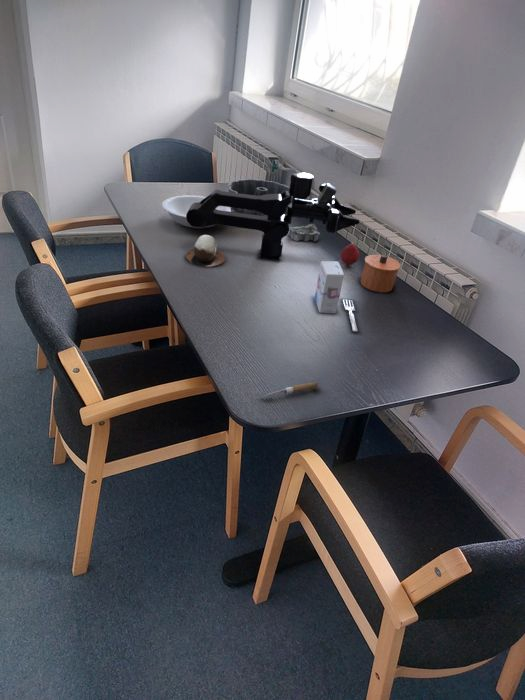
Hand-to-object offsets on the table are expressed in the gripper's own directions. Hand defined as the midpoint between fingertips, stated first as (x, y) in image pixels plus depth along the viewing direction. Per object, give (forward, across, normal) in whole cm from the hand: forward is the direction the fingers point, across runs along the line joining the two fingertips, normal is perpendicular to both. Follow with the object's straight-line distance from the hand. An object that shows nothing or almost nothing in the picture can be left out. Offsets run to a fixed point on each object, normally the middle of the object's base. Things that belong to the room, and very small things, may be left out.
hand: (357, 216), depth 150 cm
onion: (+1, 0, +17) cm, 17 cm away
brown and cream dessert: (-45, -8, +17) cm, 49 cm away
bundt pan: (-31, +40, +17) cm, 53 cm away
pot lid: (+8, -12, +9) cm, 17 cm away
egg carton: (-13, +20, +17) cm, 29 cm away
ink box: (-9, -30, +17) cm, 35 cm away
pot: (+8, -12, +16) cm, 22 cm away
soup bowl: (-52, +20, +17) cm, 59 cm away
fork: (-2, -33, +16) cm, 37 cm away
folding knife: (-20, -70, +17) cm, 75 cm away
